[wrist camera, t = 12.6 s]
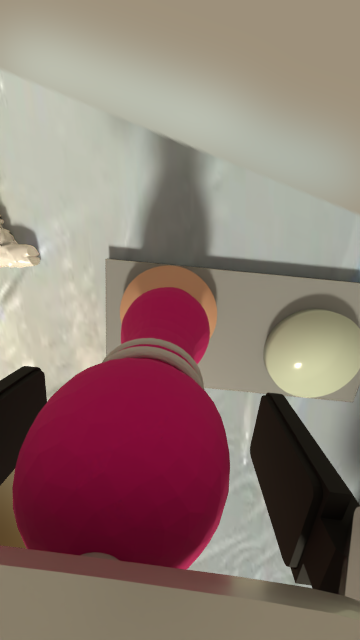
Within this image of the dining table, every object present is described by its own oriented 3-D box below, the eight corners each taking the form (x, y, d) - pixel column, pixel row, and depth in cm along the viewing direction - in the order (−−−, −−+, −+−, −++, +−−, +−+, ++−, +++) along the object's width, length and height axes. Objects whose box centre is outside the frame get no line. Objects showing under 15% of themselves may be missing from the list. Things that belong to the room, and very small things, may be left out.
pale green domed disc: (367, 313, 23) (379, 316, 21) (338, 393, 25) (347, 401, 24) (273, 304, 23) (279, 307, 21) (255, 385, 25) (259, 393, 24)
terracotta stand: (221, 270, 22) (224, 270, 20) (209, 358, 25) (210, 364, 23) (124, 260, 22) (120, 261, 20) (123, 349, 25) (119, 355, 23)
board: (386, 285, 23) (396, 286, 22) (345, 396, 27) (352, 402, 26) (109, 258, 23) (105, 258, 22) (109, 372, 27) (106, 378, 26)
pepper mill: (151, 268, 21) (-348, 434, 1) (218, 301, 21) (514, 715, 2) (124, 332, 22) (-238, 770, 3) (186, 359, 23) (183, 855, 4)
